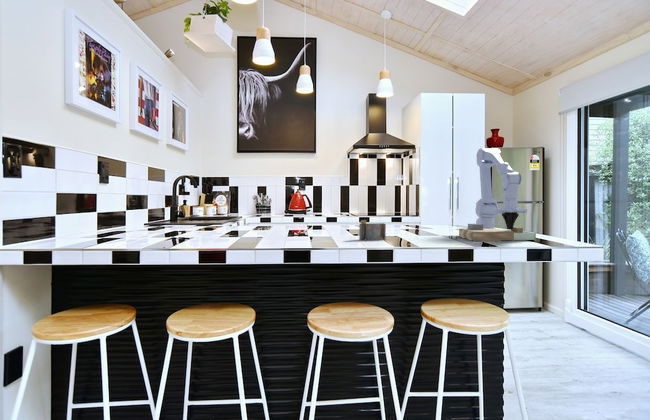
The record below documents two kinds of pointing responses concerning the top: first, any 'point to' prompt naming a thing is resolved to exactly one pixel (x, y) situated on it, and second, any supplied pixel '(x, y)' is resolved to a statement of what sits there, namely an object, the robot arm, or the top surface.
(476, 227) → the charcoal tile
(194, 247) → the top surface
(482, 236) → the oak bench
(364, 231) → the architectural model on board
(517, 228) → the walnut tile
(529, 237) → the bin
